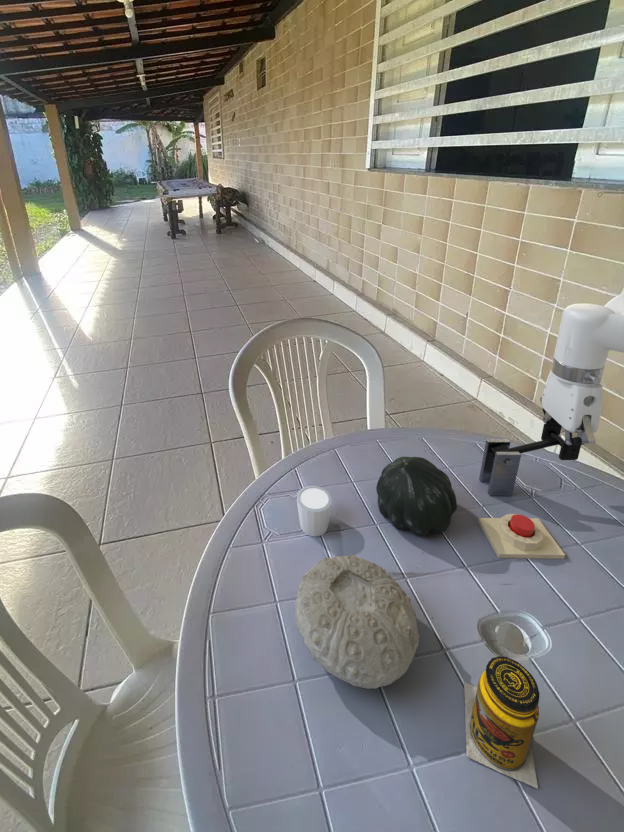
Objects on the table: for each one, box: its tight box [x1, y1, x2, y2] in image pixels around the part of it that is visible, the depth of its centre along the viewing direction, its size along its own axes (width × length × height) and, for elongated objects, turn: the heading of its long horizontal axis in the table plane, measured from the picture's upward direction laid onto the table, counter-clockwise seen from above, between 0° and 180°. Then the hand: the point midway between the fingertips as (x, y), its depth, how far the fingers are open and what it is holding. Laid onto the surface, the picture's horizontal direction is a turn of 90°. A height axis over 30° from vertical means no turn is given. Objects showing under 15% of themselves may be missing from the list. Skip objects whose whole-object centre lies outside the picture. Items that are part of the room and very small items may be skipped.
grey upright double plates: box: [478, 438, 522, 497], centre depth 88 cm, size 12×9×12 cm
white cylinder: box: [296, 485, 333, 537], centre depth 84 cm, size 7×7×7 cm
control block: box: [477, 513, 566, 560], centre depth 77 cm, size 11×8×4 cm
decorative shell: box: [294, 554, 420, 690], centre depth 63 cm, size 18×18×10 cm
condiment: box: [463, 655, 540, 790], centre depth 51 cm, size 7×8×12 cm
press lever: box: [491, 430, 565, 458], centre depth 85 cm, size 13×5×2 cm, turn 86°
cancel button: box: [510, 513, 535, 538], centre depth 76 cm, size 4×4×2 cm
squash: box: [375, 456, 458, 538], centre depth 83 cm, size 14×15×15 cm
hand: (558, 448), depth 85 cm, fingers closed on press lever, 5 cm apart
